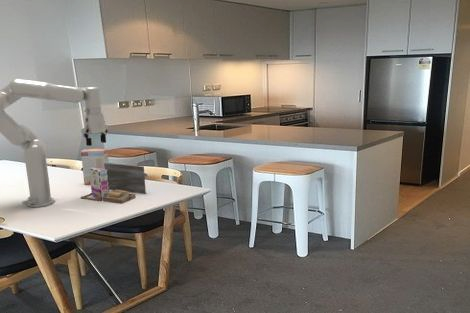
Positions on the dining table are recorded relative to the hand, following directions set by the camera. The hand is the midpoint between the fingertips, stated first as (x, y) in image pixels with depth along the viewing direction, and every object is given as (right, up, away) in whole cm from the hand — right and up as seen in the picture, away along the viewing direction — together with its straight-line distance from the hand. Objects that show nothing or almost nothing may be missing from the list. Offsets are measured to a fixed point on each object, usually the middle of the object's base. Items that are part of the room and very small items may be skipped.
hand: (96, 143), depth 212 cm
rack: (+9, -29, +2) cm, 30 cm away
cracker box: (-10, -23, +31) cm, 40 cm away
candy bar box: (+2, -29, +1) cm, 29 cm away
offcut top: (+12, -27, -4) cm, 30 cm away
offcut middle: (+12, -29, -4) cm, 31 cm away
